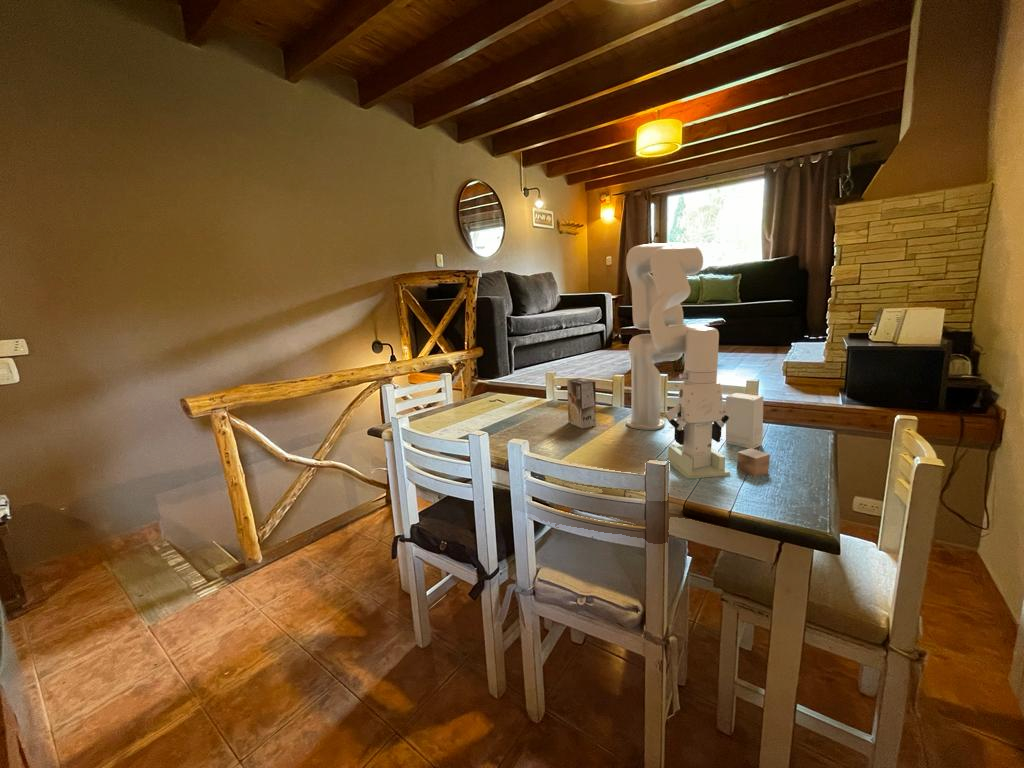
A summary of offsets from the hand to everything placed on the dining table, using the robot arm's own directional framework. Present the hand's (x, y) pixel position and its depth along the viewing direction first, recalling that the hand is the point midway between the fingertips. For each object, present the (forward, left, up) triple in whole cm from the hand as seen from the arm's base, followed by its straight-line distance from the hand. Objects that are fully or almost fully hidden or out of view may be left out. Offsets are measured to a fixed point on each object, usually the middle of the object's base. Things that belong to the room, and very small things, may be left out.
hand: (697, 441), depth 109 cm
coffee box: (-43, -20, -7) cm, 48 cm away
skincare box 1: (0, 0, -6) cm, 6 cm away
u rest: (0, 0, -7) cm, 7 cm away
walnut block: (+5, +12, -7) cm, 15 cm away
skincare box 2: (-13, +21, -7) cm, 26 cm away
